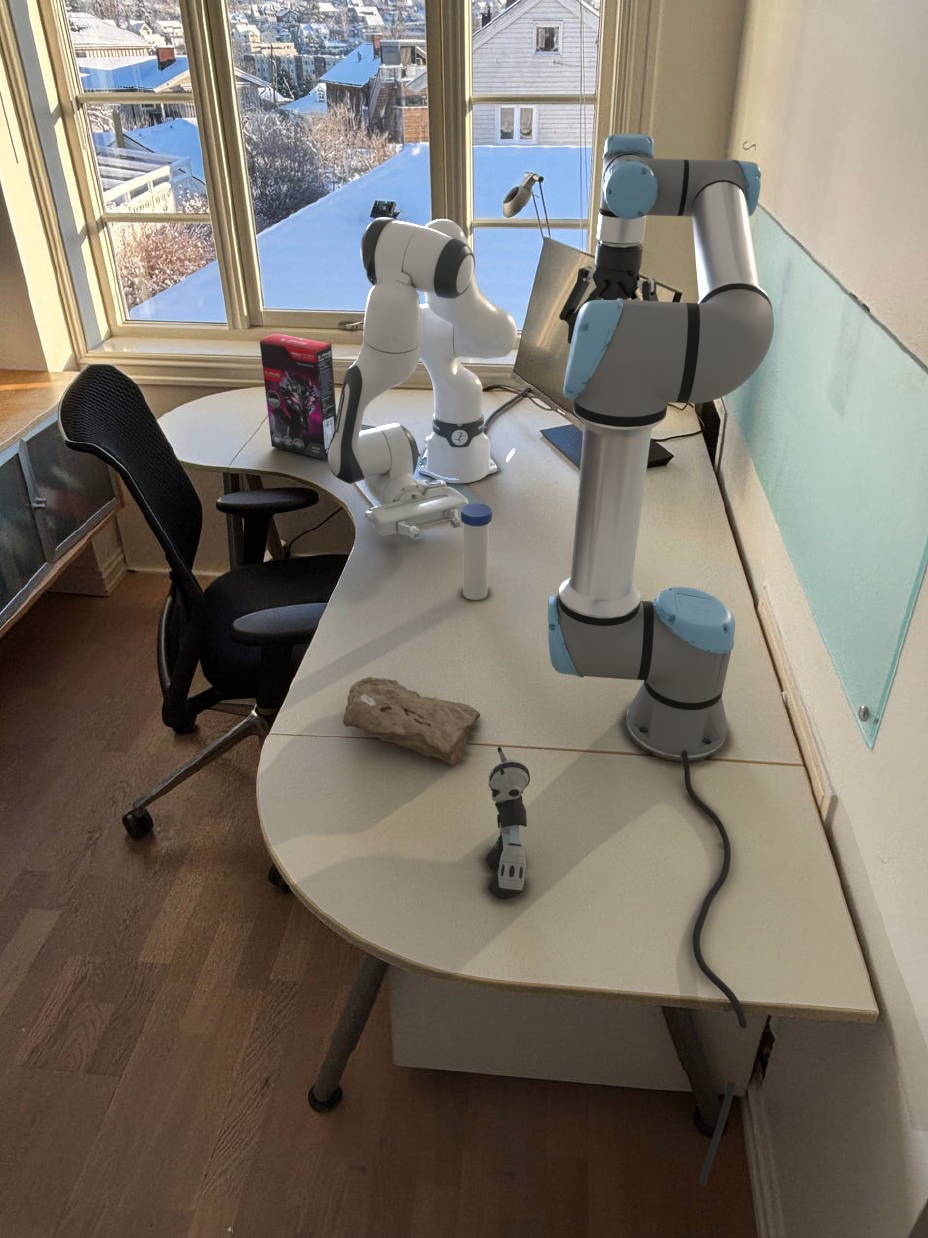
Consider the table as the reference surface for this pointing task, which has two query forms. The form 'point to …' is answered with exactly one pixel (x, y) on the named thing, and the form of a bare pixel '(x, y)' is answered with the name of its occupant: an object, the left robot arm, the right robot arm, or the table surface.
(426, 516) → the left robot arm
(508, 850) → the robot
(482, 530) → the white bottle
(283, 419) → the graphics card box
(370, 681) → the stone
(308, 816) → the table surface
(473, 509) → the lid
